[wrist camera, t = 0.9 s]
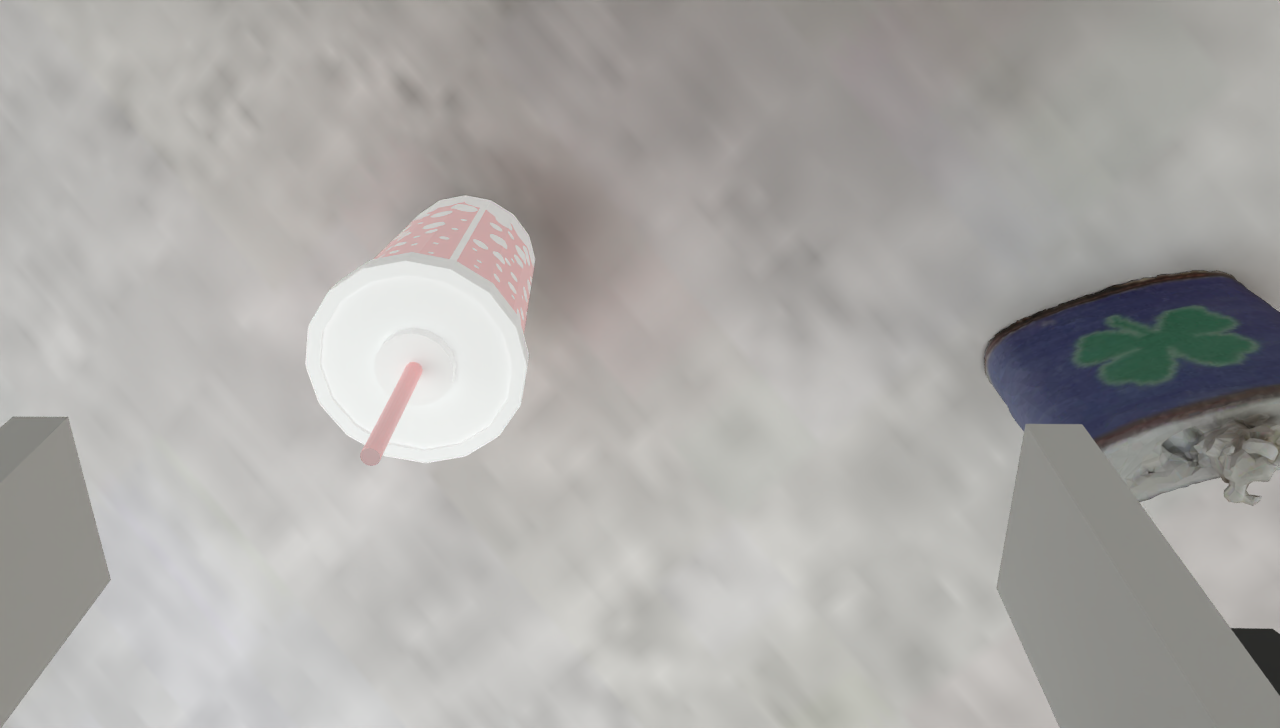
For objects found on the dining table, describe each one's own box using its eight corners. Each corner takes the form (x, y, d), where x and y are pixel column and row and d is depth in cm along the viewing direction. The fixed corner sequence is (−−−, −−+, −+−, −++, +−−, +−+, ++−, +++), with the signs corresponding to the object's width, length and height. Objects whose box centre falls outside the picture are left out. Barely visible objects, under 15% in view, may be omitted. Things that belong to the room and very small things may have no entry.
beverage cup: (361, 303, 39) (211, 515, 26) (412, 145, 36) (274, 295, 24) (522, 363, 39) (453, 598, 27) (582, 213, 37) (538, 393, 24)
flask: (986, 393, 40) (1092, 563, 30) (972, 322, 38) (1077, 474, 29) (1247, 326, 38) (1446, 481, 29) (1240, 250, 37) (1446, 384, 27)
